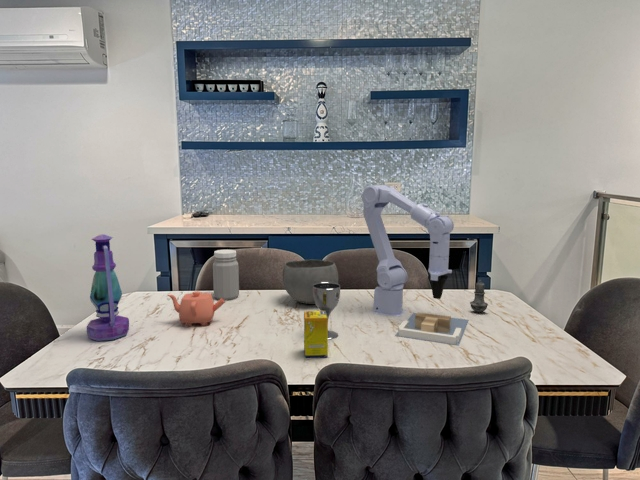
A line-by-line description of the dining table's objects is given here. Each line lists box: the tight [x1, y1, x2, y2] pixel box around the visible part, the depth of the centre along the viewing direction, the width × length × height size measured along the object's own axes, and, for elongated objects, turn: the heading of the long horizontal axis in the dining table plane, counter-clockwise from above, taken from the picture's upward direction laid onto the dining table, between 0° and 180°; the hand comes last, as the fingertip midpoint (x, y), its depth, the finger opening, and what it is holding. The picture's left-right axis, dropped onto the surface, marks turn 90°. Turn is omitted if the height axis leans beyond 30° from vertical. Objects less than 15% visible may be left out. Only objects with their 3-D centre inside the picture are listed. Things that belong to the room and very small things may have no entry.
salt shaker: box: [469, 279, 489, 314], centre depth 152 cm, size 6×6×12 cm
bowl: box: [282, 258, 339, 305], centre depth 166 cm, size 20×20×15 cm
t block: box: [415, 311, 452, 333], centre depth 133 cm, size 10×10×4 cm
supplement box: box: [303, 310, 329, 359], centre depth 119 cm, size 6×6×11 cm
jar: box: [212, 248, 240, 301], centre depth 172 cm, size 10×10×18 cm
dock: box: [397, 319, 462, 345], centre depth 131 cm, size 17×8×2 cm, turn 66°
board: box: [394, 312, 470, 346], centre depth 138 cm, size 18×24×1 cm
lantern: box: [86, 233, 130, 342], centre depth 130 cm, size 13×12×30 cm
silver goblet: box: [313, 282, 341, 340], centre depth 132 cm, size 8×8×15 cm
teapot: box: [167, 290, 226, 327], centre depth 143 cm, size 14×12×10 cm
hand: (437, 298), depth 141 cm, fingers closed
